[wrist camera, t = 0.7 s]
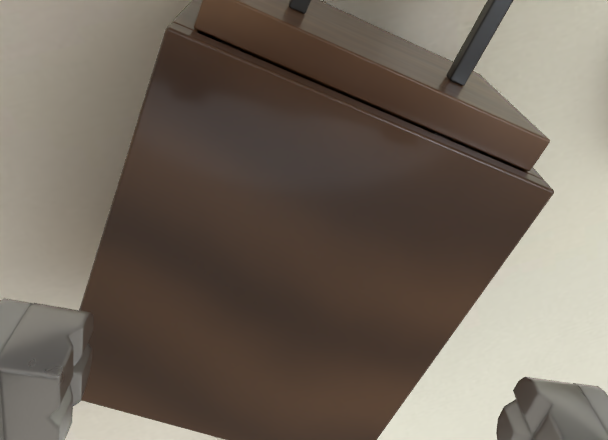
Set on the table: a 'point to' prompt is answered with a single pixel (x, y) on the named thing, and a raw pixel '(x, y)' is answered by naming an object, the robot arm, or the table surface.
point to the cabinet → (286, 251)
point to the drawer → (383, 69)
